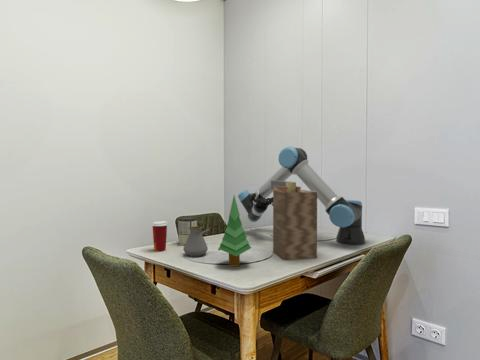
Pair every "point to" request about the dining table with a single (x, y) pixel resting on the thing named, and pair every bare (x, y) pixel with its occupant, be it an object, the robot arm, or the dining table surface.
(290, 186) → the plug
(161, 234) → the paper cup
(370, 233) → the dining table surface
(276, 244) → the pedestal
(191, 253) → the coffee pot
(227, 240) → the decorative tree
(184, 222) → the coffee can
